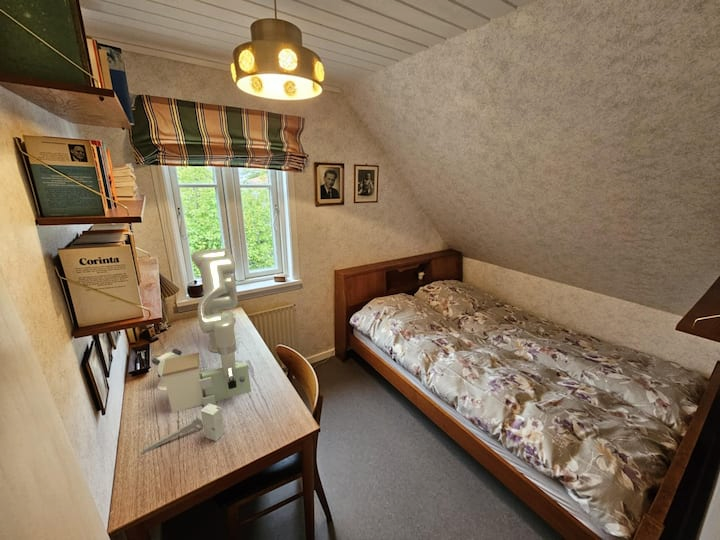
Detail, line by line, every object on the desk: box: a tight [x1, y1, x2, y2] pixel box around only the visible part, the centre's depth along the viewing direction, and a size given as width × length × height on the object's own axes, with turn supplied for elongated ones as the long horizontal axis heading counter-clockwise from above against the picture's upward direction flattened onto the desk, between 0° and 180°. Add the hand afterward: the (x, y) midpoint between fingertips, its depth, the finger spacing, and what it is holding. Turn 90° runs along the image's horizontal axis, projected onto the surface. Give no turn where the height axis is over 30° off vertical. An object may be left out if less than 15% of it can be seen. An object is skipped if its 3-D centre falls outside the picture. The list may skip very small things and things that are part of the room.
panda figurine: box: [151, 348, 182, 392], centre depth 145 cm, size 12×11×15 cm
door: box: [201, 361, 252, 402], centre depth 136 cm, size 4×18×14 cm, turn 115°
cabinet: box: [162, 352, 217, 414], centre depth 133 cm, size 12×17×19 cm
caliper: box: [139, 416, 204, 455], centre depth 115 cm, size 20×1×6 cm, turn 124°
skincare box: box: [200, 403, 225, 442], centre depth 116 cm, size 6×4×12 cm
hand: (232, 381), depth 137 cm, fingers open, 9 cm apart
